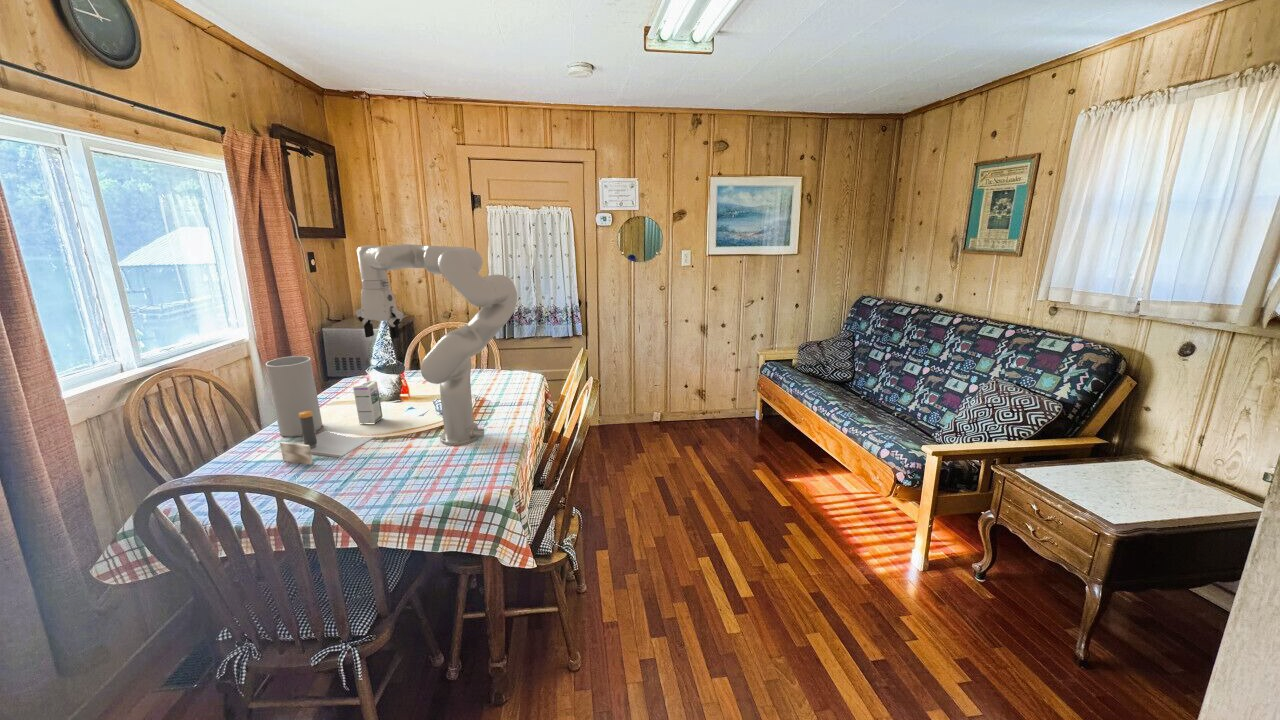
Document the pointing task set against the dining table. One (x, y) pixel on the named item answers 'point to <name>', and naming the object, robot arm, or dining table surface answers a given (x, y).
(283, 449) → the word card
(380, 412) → the syrup box
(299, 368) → the cylinder vase
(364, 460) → the dining table surface
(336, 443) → the notepad
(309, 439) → the marker
